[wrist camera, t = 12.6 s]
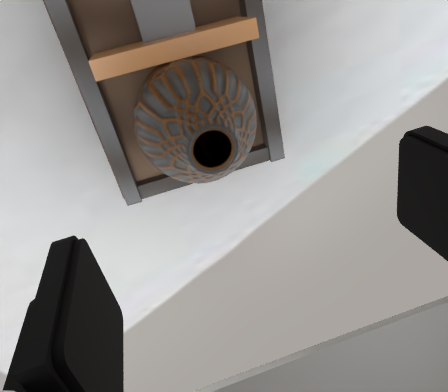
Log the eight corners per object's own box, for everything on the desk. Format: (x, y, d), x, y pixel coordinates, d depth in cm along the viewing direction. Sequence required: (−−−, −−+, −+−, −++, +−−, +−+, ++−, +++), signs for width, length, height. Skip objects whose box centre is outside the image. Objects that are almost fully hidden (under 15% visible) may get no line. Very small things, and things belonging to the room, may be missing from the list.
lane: (-47, -231, 16) (-129, -343, 11) (211, -275, 17) (247, -397, 12) (124, 193, 27) (123, 237, 22) (277, 147, 28) (311, 178, 23)
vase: (233, 44, 23) (285, 61, 16) (239, 147, 26) (284, 203, 19) (121, 56, 22) (119, 80, 14) (142, 162, 25) (149, 228, 18)
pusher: (73, -4, 20) (62, -7, 17) (226, -42, 21) (245, -51, 18) (100, 70, 22) (96, 81, 19) (240, 33, 23) (259, 37, 19)
